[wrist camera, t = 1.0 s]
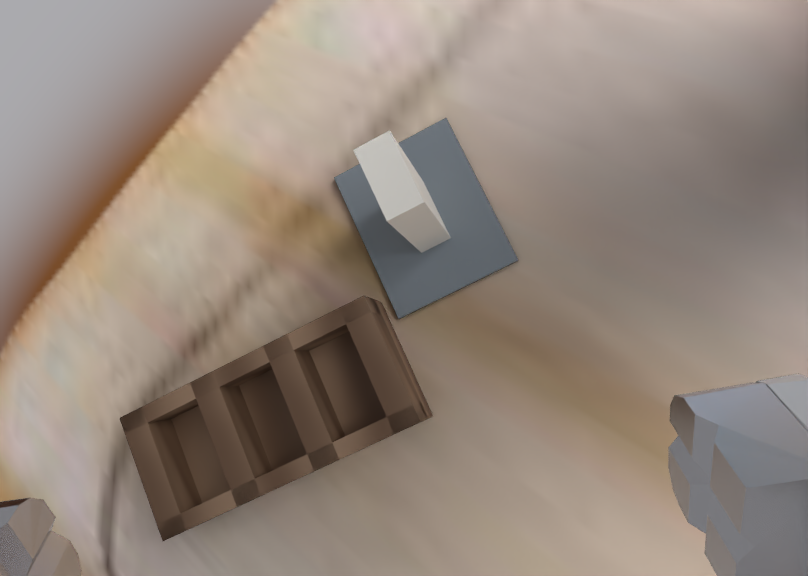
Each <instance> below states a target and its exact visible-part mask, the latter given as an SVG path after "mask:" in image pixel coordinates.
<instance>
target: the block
mask: <svg viewBox="0 0 808 576" xmlns="http://www.w3.org/2000/svg"><path fill="white" fill-rule="evenodd" d="M354 152H355V154H356V157H357V159H358V161H359V163H360V165H361V167H362V169H363V172H364V174H365V176H366V178H367V180H368V182H369V184H370V186H371V189H372V191H373V193H374V195H375V197H376V199H377V201H378V204H379V206H380V208H381V210H382V212H383V214H384V216H385V218H386V221H387V222H388V223H389V224H390V225H391V226H393V227H394V228H395V229H396V230H397V231H398V232H399V233H400V234H401V235H402V236H404V237H405V238H406V239H407V240H408V241H409V242H410V243H411V244H412V245H413V246H415V247H416V248H417V249H418V250H419V251H420V252H421V253H422V252H424V251H426V250H428V249H430V248H432V247H434V246H436V245H438V244H440V243H442V242H444V241H446V240H448V239H450V238H451V237H450V235H449V233H448V231H447V229H446V227H445V225H444V223H443V221H442V219H441V217H440V215H439V213H438V211H437V208H436V206H435V204H434V202H433V200H432V198H431V196H430V194H429V192H428V190H427V188H426V186H425V184H424V182H423V180H422V179H421V177H420V176H419V174H418V173H417V171H416V170H415V168H414V167H413V165H412V164H411V162H410V160H409V159H408V157H407V156H406V154H405V153H404V151H403V150H402V148H401V147H400V145H399V144H398V142H397V141H396V139H395V138H394V136H393V135H392V133H391V132H390V130H389V131H387V132H386V133H384V134H382V135H380V136H378V137H376V138H374V139H373V140H371V141H369V142H367V143H365V144H363V145H361V146H360V147H358V148H356V149H354Z"/></svg>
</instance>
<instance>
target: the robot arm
mask: <svg viewBox="0 0 808 576" xmlns="http://www.w3.org/2000/svg"><path fill="white" fill-rule="evenodd" d="M670 422H671V424H672V425H673V427H674V429H675V430H676V432H677V434H678V435H679V436H678V437H677V438H676V439H675V440H674V442H673V443H672V444H671V445H670V446H669V453H668V454H669V461H668V464H669V473H670V478H671V482H672V487H673V491H674V493H675V496H676V499H677V501H678V504H679V506H680V508H681V510H682V512H683V514H684V516H685V518H686V520H687V522H688V523H690V524H691V525H693V526H694V527H696V528H698V529H699V530H701V531H702V532H704V533H706V541H705V555H706V557H707V558H708V560H709V562H710V564H711V566H712V567H713V569H714V571H715V573H716V575H717V576H808V377H806V376H803V375H801V374H794V375H788V376H783V377H777V378H771V379H766V380H760V381H757V382H755V383H746V384H740V385H734V386H728V387H722V388H716V389H710V390H704V391H698V392H692V393H686V394H680V395H674V397H673V400H672V402H671V405H670ZM55 518H56V517H55V516H54V514H53V513H52V511H51V510H50V508H49V507H48V506H47V504H46V503H45V501H44V500H43V499H35V498H25V499H18V500H10V501H3V502H0V576H81V571H82V570H81V566H80V562H79V557H78V553H77V552H76V550H75V548H74V547H73V545H72V543H71V542H70V540H68V539H66V538H64V537H62V536H61V535H59V534H57V533H55V532H53V531H51V530H52V527H53V524H54V521H55Z"/></svg>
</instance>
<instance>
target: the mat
mask: <svg viewBox="0 0 808 576" xmlns="http://www.w3.org/2000/svg"><path fill="white" fill-rule="evenodd" d="M398 144H399V145H400V147H401V148H402V150H403V151H404V153H405V154H406V156H407V157H408V159H409V160H410V162H411V164H412V165H413V167H414V168H415V170H416V171H417V173H418V174H419V176H420V177H421V179H422V180H423V182H424V184H425V186H426V188H427V190H428V192H429V194H430V196H431V198H432V200H433V202H434V204H435V206H436V208H437V211H438V213H439V215H440V217H441V219H442V221H443V223H444V225H445V227H446V229H447V231H448V233H449V235H450V237H451V238H450V239H448V240H446V241H444V242H442V243H440V244H438V245H436V246H434V247H432V248H430V249H428V250H426V251H424V252H422V253H421V252H420V251H419V250H418V249H417V248H416V247H415V246H413V245H412V244H411V243H410V242H409V241H408V240H407V239H406V238H405V237H404V236H402V235H401V234H400V233H399V232H398V231H397V230H396V229H395V228H394V227H393V226H391V225H390V224H389V223H388V222H387V221H386V218H385V216H384V214H383V212H382V210H381V208H380V206H379V204H378V201H377V199H376V197H375V195H374V193H373V191H372V189H371V186H370V184H369V182H368V180H367V178H366V176H365V174H364V172H363V169H362V167H361V165H360V164H359V165H357V166H355V167H353V168H351V169H349V170H347V171H345V172H344V173H342V174H340V175H338V176H336V177H334V179H335V181H336V183H337V185H338V187H339V190H340V192H341V194H342V196H343V198H344V201H345V203H346V205H347V207H348V209H349V212H350V214H351V216H352V218H353V220H354V222H355V225H356V227H357V229H358V231H359V233H360V236H361V238H362V240H363V242H364V244H365V247H366V249H367V251H368V253H369V255H370V257H371V260H372V262H373V264H374V266H375V268H376V271H377V273H378V275H379V277H380V279H381V282H382V284H383V286H384V288H385V290H386V292H387V295H388V297H389V299H390V301H391V303H392V306H393V308H394V310H395V312H396V314H397V317H398V318H399V319H400V318H402V317H404V316H407V315H409V314H411V313H413V312H415V311H417V310H419V309H421V308H423V307H425V306H427V305H429V304H431V303H433V302H435V301H437V300H439V299H441V298H443V297H445V296H447V295H449V294H451V293H453V292H455V291H457V290H459V289H462V288H464V287H466V286H468V285H470V284H472V283H474V282H476V281H478V280H480V279H482V278H484V277H486V276H488V275H490V274H492V273H494V272H496V271H498V270H500V269H502V268H504V267H506V266H508V265H510V264H512V263H514V262H517V261H518V258H517V256H516V254H515V252H514V250H513V249H512V247H511V245H510V243H509V241H508V239H507V237H506V235H505V233H504V231H503V229H502V227H501V225H500V223H499V221H498V219H497V217H496V215H495V213H494V211H493V209H492V207H491V205H490V203H489V201H488V199H487V197H486V195H485V193H484V191H483V189H482V187H481V185H480V183H479V181H478V180H477V178H476V176H475V174H474V172H473V170H472V168H471V166H470V164H469V162H468V160H467V158H466V156H465V154H464V152H463V150H462V148H461V146H460V144H459V142H458V140H457V138H456V136H455V134H454V132H453V130H452V128H451V126H450V124H449V122H448V120H447V118H445V119H443V120H441V121H439V122H437V123H435V124H433V125H432V126H430V127H428V128H426V129H424V130H422V131H420V132H418V133H417V134H415V135H413V136H411V137H409V138H407V139H405V140H403V141H402V142H400V143H398Z"/></svg>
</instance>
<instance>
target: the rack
mask: <svg viewBox="0 0 808 576" xmlns="http://www.w3.org/2000/svg"><path fill="white" fill-rule="evenodd" d="M432 416H433V415H432V413H431V411H430V408H429V406H428V404H427V402H426V400H425V397H424V395H423V393H422V391H421V389H420V386H419V384H418V382H417V380H416V377H415V375H414V373H413V371H412V369H411V366H410V364H409V362H408V360H407V358H406V355H405V353H404V351H403V349H402V347H401V344H400V342H399V340H398V338H397V336H396V333H395V331H394V329H393V327H392V325H391V322H390V320H389V318H388V316H387V314H386V311H385V309H384V307H383V305H382V303H381V302H379V301H377V300H374V299H371V298H369V297H366V296H362V297H360V298H358V299H356V300H354V301H352V302H350V303H348V304H346V305H344V306H342V307H340V308H338V309H336V310H334V311H332V312H330V313H328V314H326V315H324V316H322V317H320V318H318V319H316V320H314V321H312V322H310V323H308V324H306V325H304V326H302V327H300V328H298V329H296V330H294V331H292V332H290V333H288V334H286V335H284V336H282V337H280V338H278V339H276V340H274V341H272V342H270V343H268V344H266V345H264V346H262V347H260V348H258V349H256V350H254V351H252V352H250V353H248V354H246V355H244V356H242V357H240V358H238V359H236V360H234V361H232V362H230V363H228V364H226V365H224V366H222V367H220V368H218V369H216V370H214V371H212V372H210V373H208V374H206V375H204V376H202V377H201V378H199V379H197V380H195V381H193V382H191V383H189V384H187V385H185V386H183V387H181V388H179V389H177V390H175V391H173V392H171V393H169V394H167V395H165V396H163V397H161V398H159V399H157V400H155V401H153V402H151V403H149V404H147V405H145V406H143V407H141V408H139V409H137V410H135V411H133V412H131V413H129V414H127V415H125V416H123V417H121V418H120V421H121V424H122V426H123V429H124V432H125V435H126V438H127V441H128V443H129V446H130V449H131V452H132V455H133V458H134V461H135V463H136V466H137V469H138V472H139V475H140V478H141V480H142V483H143V486H144V489H145V492H146V495H147V498H148V500H149V503H150V506H151V509H152V512H153V515H154V517H155V520H156V523H157V526H158V529H159V532H160V534H161V537H162V540H163V541H165V540H167V539H169V538H171V537H173V536H175V535H177V534H180V533H182V532H184V531H186V530H188V529H190V528H193V527H195V526H197V525H199V524H201V523H203V522H206V521H208V520H210V519H212V518H214V517H216V516H219V515H221V514H223V513H225V512H227V511H229V510H231V509H234V508H236V507H238V506H240V505H242V504H244V503H247V502H249V501H251V500H253V499H255V498H257V497H260V496H262V495H264V494H266V493H268V492H270V491H273V490H275V489H277V488H279V487H281V486H283V485H285V484H288V483H290V482H292V481H294V480H296V479H298V478H301V477H303V476H305V475H307V474H309V473H311V472H314V471H316V470H318V469H320V468H322V467H324V466H327V465H329V464H331V463H333V462H335V461H337V460H339V459H342V458H344V457H346V456H348V455H350V454H352V453H355V452H357V451H359V450H361V449H363V448H365V447H368V446H370V445H372V444H374V443H376V442H378V441H381V440H383V439H385V438H387V437H389V436H391V435H393V434H396V433H398V432H400V431H402V430H404V429H406V428H409V427H411V426H413V425H415V424H417V423H419V422H422V421H424V420H426V419H428V418H430V417H432Z"/></svg>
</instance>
